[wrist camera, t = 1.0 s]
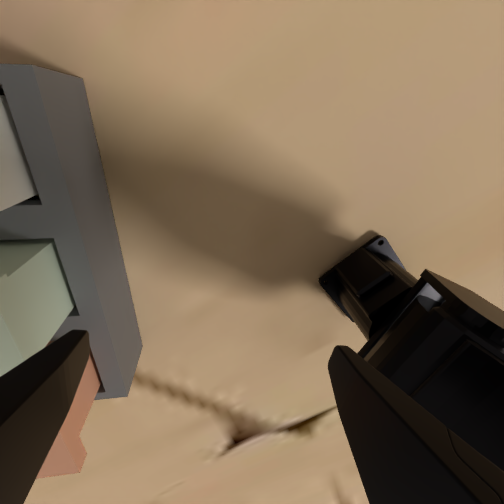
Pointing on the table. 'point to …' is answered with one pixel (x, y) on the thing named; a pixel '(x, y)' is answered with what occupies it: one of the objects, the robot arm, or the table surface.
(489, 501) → the robot arm
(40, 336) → the key two dots
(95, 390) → the key three dots
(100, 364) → the key console
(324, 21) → the table surface
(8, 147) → the key one dot
